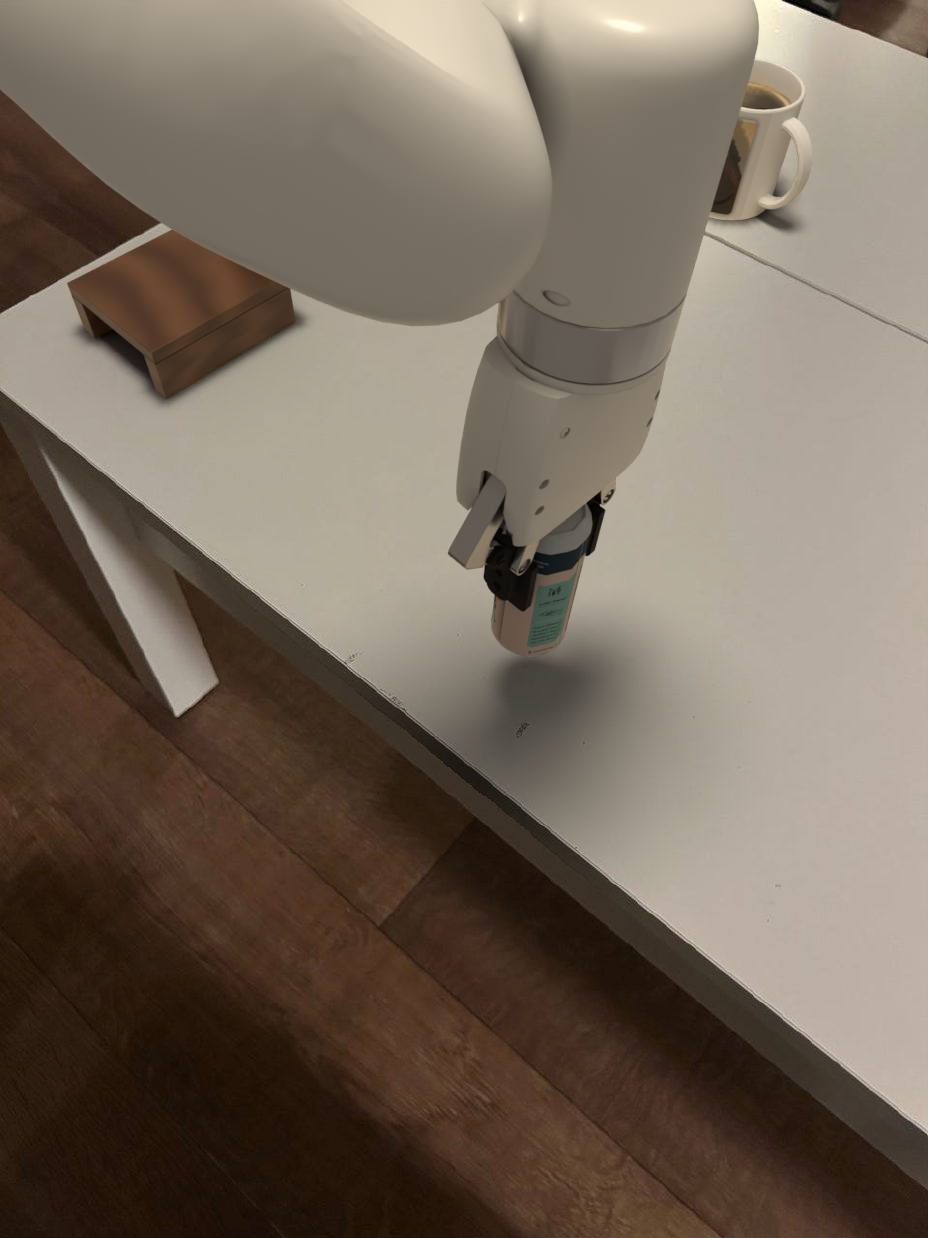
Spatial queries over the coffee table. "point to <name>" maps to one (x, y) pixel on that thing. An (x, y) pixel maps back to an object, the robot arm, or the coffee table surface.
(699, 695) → the coffee table surface
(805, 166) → the mug
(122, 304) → the shelf
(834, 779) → the coffee table surface
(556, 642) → the beer can
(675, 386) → the coffee table surface
